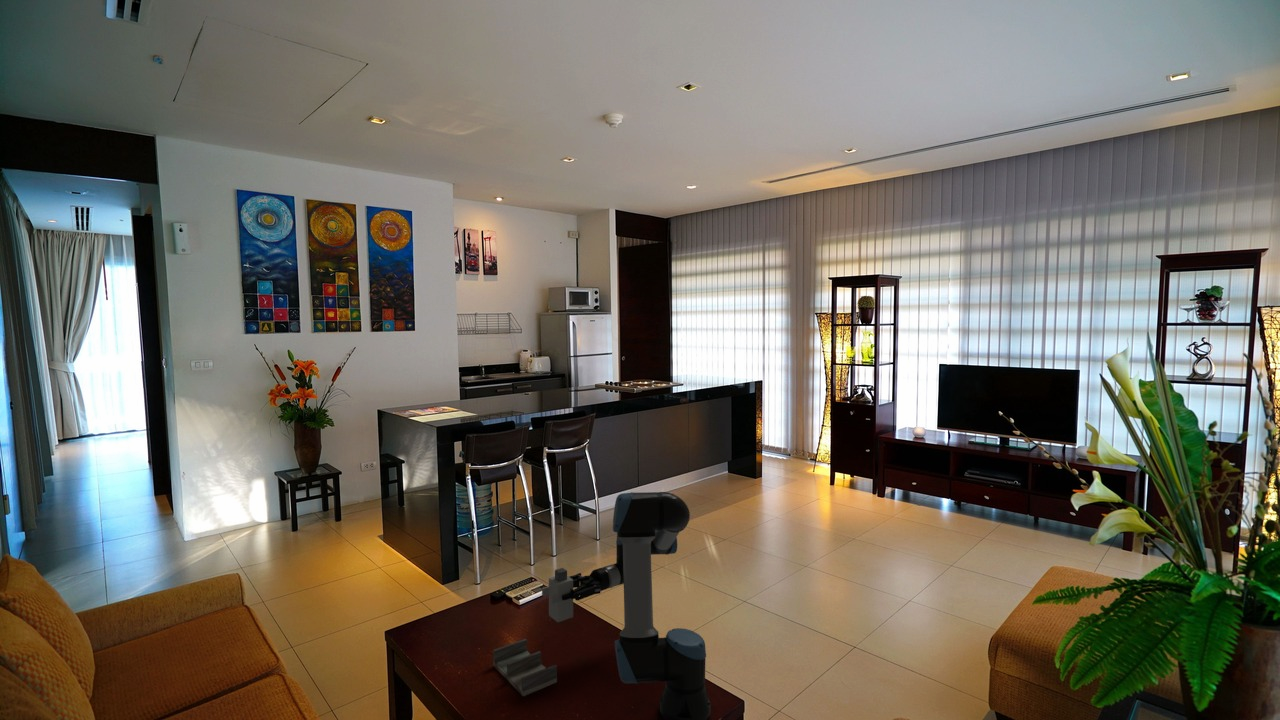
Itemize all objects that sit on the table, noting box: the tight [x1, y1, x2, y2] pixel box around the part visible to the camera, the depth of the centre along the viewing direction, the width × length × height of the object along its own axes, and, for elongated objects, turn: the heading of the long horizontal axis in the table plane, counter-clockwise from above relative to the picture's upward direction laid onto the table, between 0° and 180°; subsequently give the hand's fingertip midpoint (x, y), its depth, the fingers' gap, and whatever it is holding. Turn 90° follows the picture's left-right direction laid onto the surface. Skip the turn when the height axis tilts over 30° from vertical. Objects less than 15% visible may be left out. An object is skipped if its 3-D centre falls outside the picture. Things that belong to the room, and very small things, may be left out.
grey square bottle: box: [548, 567, 574, 623], centre depth 206 cm, size 6×6×16 cm
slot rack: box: [492, 638, 558, 697], centre depth 199 cm, size 21×12×6 cm, turn 39°
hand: (547, 595), depth 202 cm, fingers closed on grey square bottle, 6 cm apart
